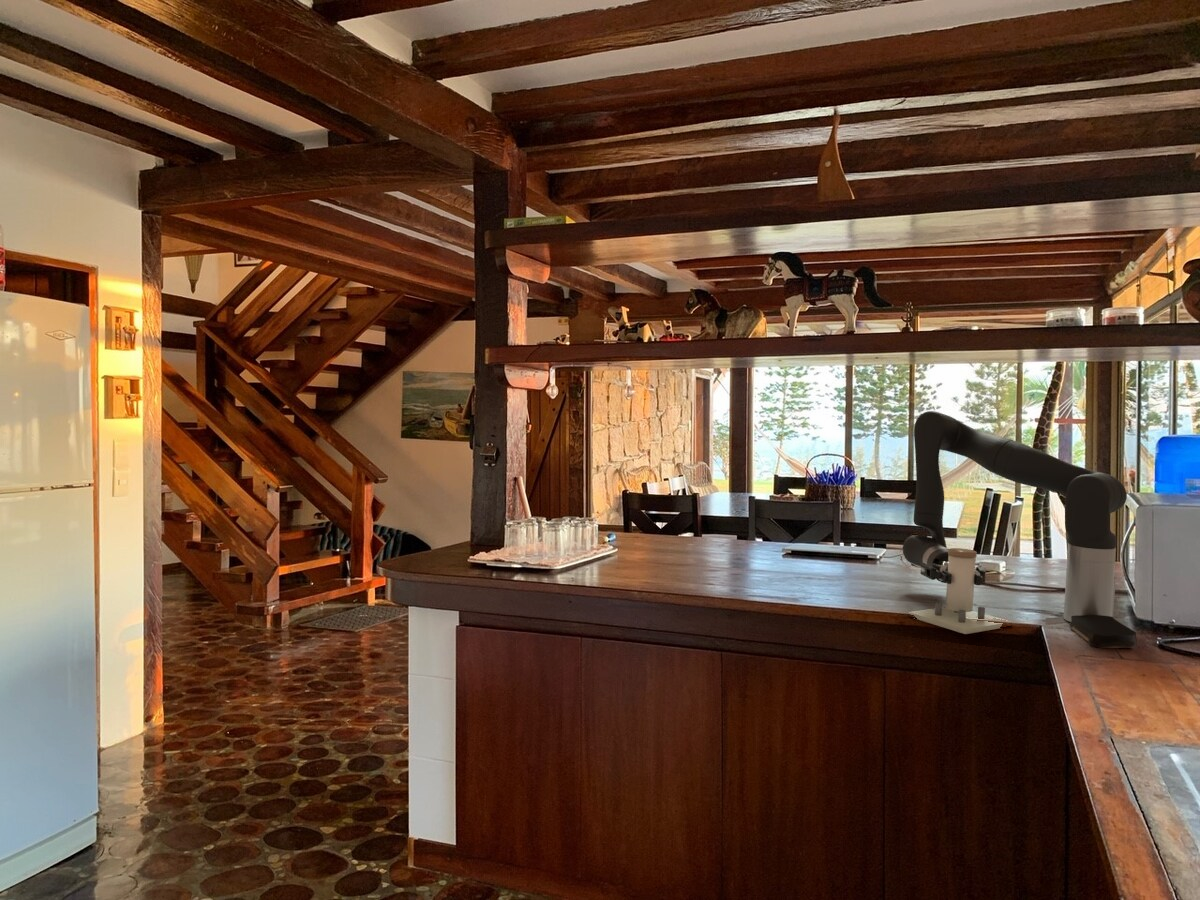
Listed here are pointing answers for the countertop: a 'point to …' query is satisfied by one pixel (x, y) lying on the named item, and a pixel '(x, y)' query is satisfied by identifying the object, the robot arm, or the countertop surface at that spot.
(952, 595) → the canister
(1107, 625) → the black sponge
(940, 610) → the plate
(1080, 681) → the countertop surface
